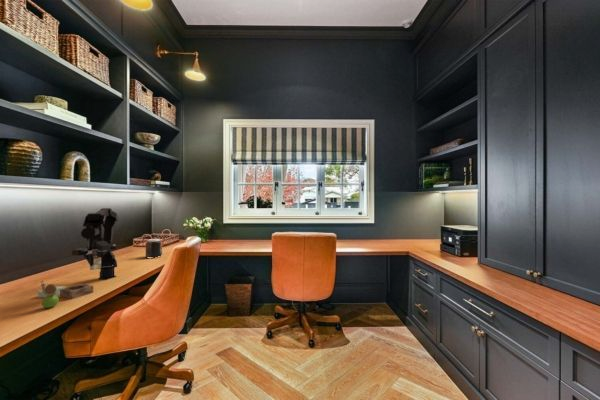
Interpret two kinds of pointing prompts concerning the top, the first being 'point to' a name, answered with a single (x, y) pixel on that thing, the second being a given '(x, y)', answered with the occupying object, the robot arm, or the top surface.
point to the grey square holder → (76, 291)
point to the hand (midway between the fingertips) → (95, 265)
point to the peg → (96, 263)
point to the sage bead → (41, 294)
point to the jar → (153, 248)
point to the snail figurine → (49, 295)
